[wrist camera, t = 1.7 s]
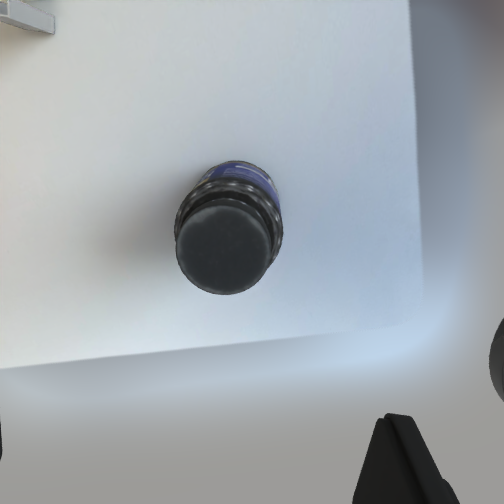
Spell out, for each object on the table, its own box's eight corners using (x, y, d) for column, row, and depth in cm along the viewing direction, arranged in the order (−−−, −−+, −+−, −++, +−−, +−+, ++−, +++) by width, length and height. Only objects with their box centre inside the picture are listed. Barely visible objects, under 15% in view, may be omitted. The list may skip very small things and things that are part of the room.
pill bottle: (205, 150, 29) (172, 173, 19) (288, 172, 30) (302, 206, 19) (188, 231, 31) (150, 292, 21) (266, 250, 32) (267, 320, 21)
